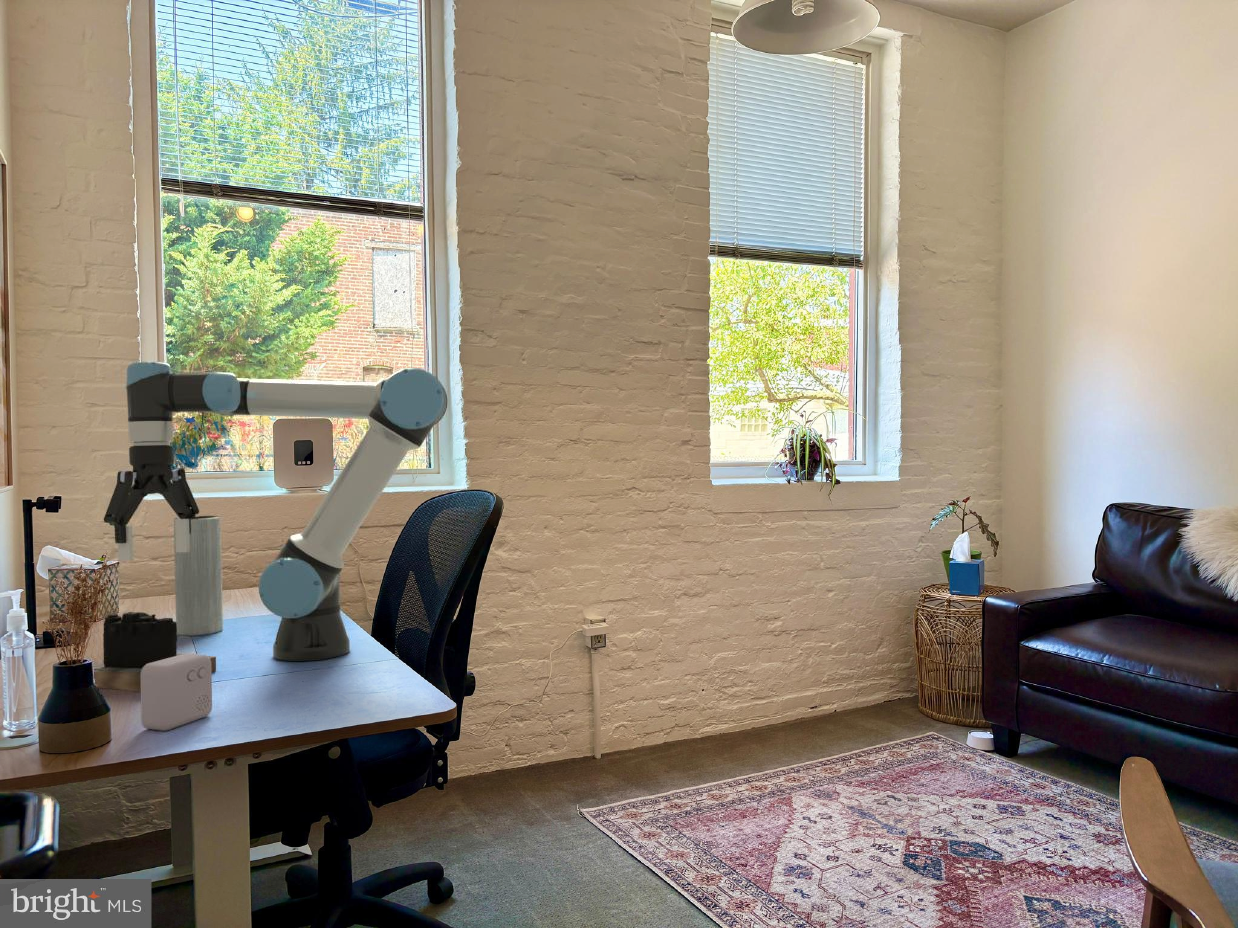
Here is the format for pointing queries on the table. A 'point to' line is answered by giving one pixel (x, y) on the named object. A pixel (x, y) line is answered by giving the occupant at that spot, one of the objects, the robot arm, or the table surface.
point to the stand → (125, 676)
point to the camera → (138, 639)
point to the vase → (200, 579)
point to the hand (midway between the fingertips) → (155, 556)
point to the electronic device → (176, 691)
